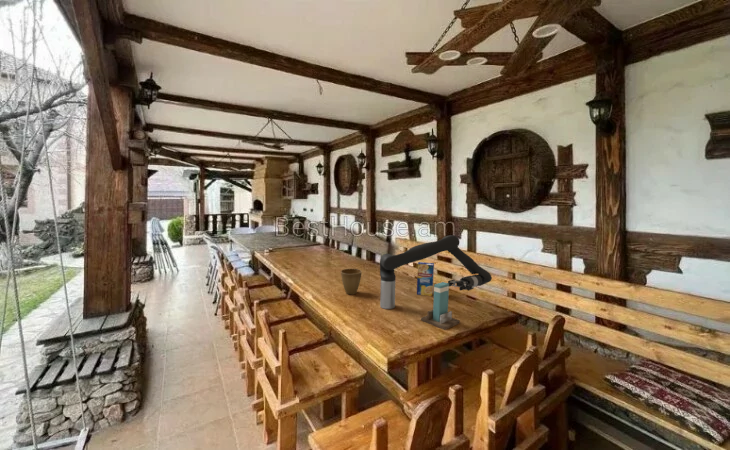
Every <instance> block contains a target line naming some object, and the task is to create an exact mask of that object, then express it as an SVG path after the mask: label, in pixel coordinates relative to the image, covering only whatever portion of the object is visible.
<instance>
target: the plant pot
mask: <svg viewBox="0 0 730 450" xmlns="http://www.w3.org/2000/svg"><path fill="white" fill-rule="evenodd" d="M362 272H363V271H362V270H361V269H358V268H343V269H342V270H340V275H341V277H340V278H341V282H342V285H343V289H344V291H345V294H347V295H355V294H357V293H358V289H359V286H360V284H361V283H360V282H361V279H362Z"/></svg>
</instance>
